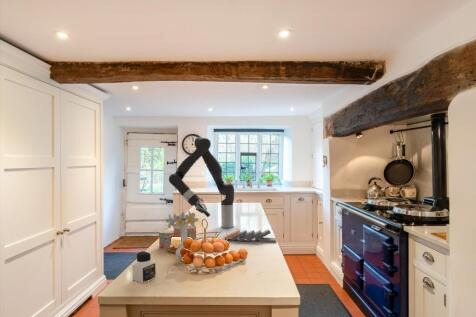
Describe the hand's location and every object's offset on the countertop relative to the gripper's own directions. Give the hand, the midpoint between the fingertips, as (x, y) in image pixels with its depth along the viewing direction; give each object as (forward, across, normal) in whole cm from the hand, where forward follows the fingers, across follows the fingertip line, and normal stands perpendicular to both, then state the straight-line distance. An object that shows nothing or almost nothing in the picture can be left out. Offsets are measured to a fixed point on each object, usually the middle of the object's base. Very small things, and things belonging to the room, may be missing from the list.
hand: (209, 216), depth 186 cm
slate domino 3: (+28, 0, -8) cm, 29 cm away
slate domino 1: (+21, 0, -1) cm, 21 cm away
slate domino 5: (+31, +1, -12) cm, 33 cm away
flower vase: (+8, -37, +13) cm, 40 cm away
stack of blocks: (+1, -18, +21) cm, 28 cm away
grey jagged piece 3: (+25, -1, -5) cm, 25 cm away
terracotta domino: (+18, 0, +2) cm, 18 cm away
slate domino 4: (+34, 0, -13) cm, 36 cm away
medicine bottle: (+3, -63, +19) cm, 66 cm away
